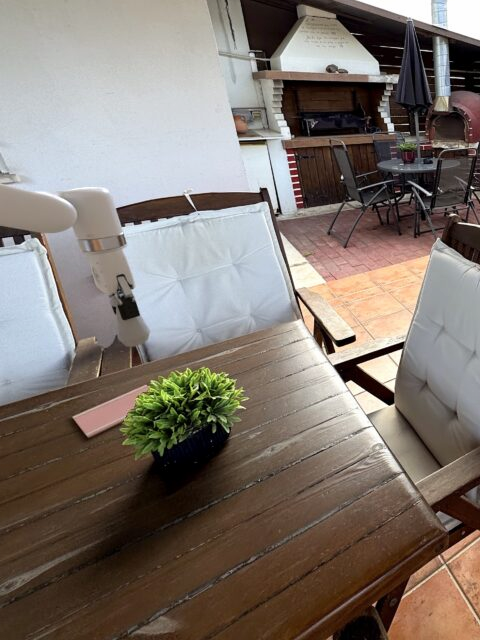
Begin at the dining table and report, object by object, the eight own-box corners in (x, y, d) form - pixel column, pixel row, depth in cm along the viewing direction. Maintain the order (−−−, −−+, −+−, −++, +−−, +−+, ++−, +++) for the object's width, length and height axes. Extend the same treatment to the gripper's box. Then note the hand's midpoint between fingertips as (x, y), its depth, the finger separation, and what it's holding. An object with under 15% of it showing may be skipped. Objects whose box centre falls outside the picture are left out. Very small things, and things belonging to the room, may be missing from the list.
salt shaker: (156, 340, 99) (141, 293, 95) (126, 351, 95) (108, 302, 90) (147, 334, 102) (132, 287, 98) (117, 344, 98) (100, 295, 93)
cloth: (88, 438, 83) (87, 436, 83) (72, 418, 89) (71, 416, 88) (164, 402, 93) (164, 400, 93) (146, 385, 99) (145, 384, 99)
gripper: (68, 240, 91) (94, 312, 97) (92, 254, 83) (119, 331, 89) (112, 233, 97) (134, 301, 103) (138, 245, 89) (161, 318, 95)
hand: (127, 314), depth 96 cm, fingers closed on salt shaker, 4 cm apart
